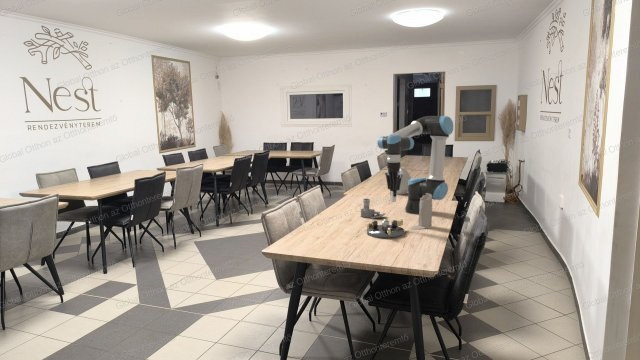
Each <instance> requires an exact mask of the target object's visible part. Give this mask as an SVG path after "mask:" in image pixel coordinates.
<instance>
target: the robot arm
mask: <svg viewBox="0 0 640 360" xmlns="http://www.w3.org/2000/svg"><path fill="white" fill-rule="evenodd" d="M453 132H454V122H453V120H452V118H451V117H450V116H447V115H428V116H422V117H419V118H418V119H416V120H413V121H412V122H411V123H410V124H409V125H408V126H407V125H406V126H404V127H403V128H401V129H399V130H397V131H396V132H393V133H391V134H389V135H386V136H383V135H382V136H379V137H378V139H377V142H376V143H377V146H378V149H382V150H387V153H386V154H387V156H386V157H387V159H386V161H387V164H386V167H387V172H385V173H384V175H385V178H386V187H387V189H388V190H389V191H390V193H389V195H390V203H396V202H397V195H398V194H397V191H398V190H399V189H400V184H401V178H402V176H403V175H401V174H400V172H399V169H400V167H401V159H402V158H401V151H409V150H412V149H413V148H414V145H415V140H414V139H413V137H414V136H419V135H422V134H423V135H425V134H426V135H427V134H429V136H430V138H431V140H432V141H431V149H430V162H429V173H428V174H429V175H428V176H427V177H413V178H411V179H410V180H409V181H408V192H407V202H406V205H405V208H404V209H405V210H404V211H405V212H406V213H408V214H415V215H419V211H420V198H422V197H423V195H426V193H429V194H431V195H432V200H435V201H436V200H437V201H441V200H444V199H445V198H446V196H447V194H448V191H449V186H448V184H447V183H446V179H445V177H444V167H445V155H446V145H447V140H448V139H449V137H450V135H452V133H453Z"/></svg>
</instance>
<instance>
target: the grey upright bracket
mask: <svg viewBox="0 0 640 360" xmlns="http://www.w3.org/2000/svg"><path fill="white" fill-rule="evenodd" d="M432 212H433V199H432V195H431V194H429V193H426V195H423V197H422V198H420V211H419V214H418V224H417V225H413V226H411V227H409V229H411V230H425V228H426V229H431V228H432V227H433V226H432V221H433V219H432V218H433V216H432V215H433V213H432ZM430 227H431V228H430Z"/></svg>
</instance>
